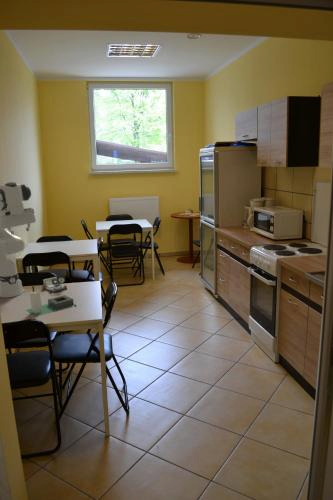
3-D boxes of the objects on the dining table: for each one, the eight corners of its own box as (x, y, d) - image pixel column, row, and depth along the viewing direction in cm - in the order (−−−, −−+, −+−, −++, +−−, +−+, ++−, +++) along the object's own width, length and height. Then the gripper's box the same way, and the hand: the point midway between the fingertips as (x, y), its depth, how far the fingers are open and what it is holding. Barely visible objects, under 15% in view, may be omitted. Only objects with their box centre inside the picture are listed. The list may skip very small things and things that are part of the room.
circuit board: (25, 311, 241) (25, 310, 240) (65, 300, 257) (65, 299, 257) (35, 318, 230) (35, 316, 229) (76, 306, 246) (76, 304, 246)
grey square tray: (48, 304, 248) (47, 299, 247) (65, 300, 255) (64, 294, 254) (56, 309, 239) (55, 303, 239) (73, 304, 246) (73, 299, 246)
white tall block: (32, 311, 238) (28, 285, 234) (39, 309, 240) (36, 284, 237) (34, 313, 234) (31, 287, 231) (42, 311, 237) (39, 285, 234)
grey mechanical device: (67, 277, 276) (51, 280, 269) (68, 290, 278) (53, 294, 271) (56, 272, 290) (41, 275, 283) (57, 285, 292) (42, 288, 285)
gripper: (31, 206, 245) (35, 228, 250) (-3, 212, 234) (1, 235, 238) (35, 207, 240) (38, 229, 245) (0, 214, 229) (4, 237, 234)
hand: (20, 232), depth 242 cm, fingers open, 8 cm apart
